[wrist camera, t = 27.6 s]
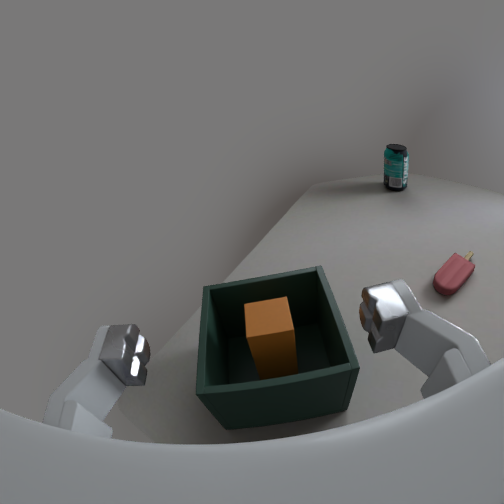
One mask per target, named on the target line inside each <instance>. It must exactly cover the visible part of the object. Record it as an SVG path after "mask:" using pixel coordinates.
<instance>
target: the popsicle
mask: <svg viewBox="0 0 504 504" xmlns="http://www.w3.org/2000/svg"><path fill="white" fill-rule="evenodd" d="M472 256H473V252H471V251H469V252H468V254H467V255H466V256H465V257H464V258H463V257H462V256H460V255H458V254H457V253H454V254H453V255H452V256H451V257H450V258H449V260H448V261H447V262H446V263H445V264H444V265H443V266H442V267H441V268H440V269H439V270H438V272H437V273H436V274H435V277H434V280H433V285H434V288H435V289H436V290H437V291H438V292H439V293H441V294H444V295H451V294H453V293H455V292H456V291H457V290H458V289H459V288H460V287H461V286H462V284H463V283H464V282H465V281H466V280H467V279H468V277H469V276H470V275H471V273H472V272H473V271H474V268H475V265H474V264H473V263H471V262H470V261H469V260H470V258H471V257H472Z"/></svg>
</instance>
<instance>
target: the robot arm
mask: <svg viewBox="0 0 504 504" xmlns="http://www.w3.org/2000/svg"><path fill="white" fill-rule="evenodd" d="M362 298H363V300H364V301H363V302H362V303H361V304H360V310H359V313H360V320H361V324H362V327H363V329H364V330H365V331H367V332H368V333H369V336H368V341H369V344H370V346H371V348H372V351H373V353H378V352H382V351H386V350H389V349H393V348H395V350H396V351H398V352H399V353H400V354H401V355H402V356H404V357H405V358H406V359H407V360H409V361H410V362H411V363H412V364H414V365H415V366H416V367H417V368H418V369H420V370H421V371H422V372H423V373H425V374H426V375H427V376H428V377H429V378H428V379H427V380H426V382H425V383H424V385H423V386H422V388H421V393H422V395H423V398H424V399H423V400H420V401H418V402H416V403H413V404H410V405H408V406H405V407H403V408H400V409H397V410H394V411H391V412H389V413H386V414H383V415H380V416H376V417H373V418H370V419H367V420H363V421H360V422H356V423H353V424H349V425H345V426H341V427H337V428H333V429H329V430H324V431H320V432H315V433H310V434H304V435H299V436H293V437H287V438H280V439H273V440H265V441H255V442H244V443H230V444H202V445H188V444H160V443H147V442H136V441H127V440H119V439H112V432H113V430H112V428H111V427H110V426H109V425H107V424H106V423H104V422H103V420H104V419H105V417H106V415H107V414H108V413H109V411H110V410H111V408H112V407H113V406H114V404H115V403H116V401H117V400H118V398H119V397H120V395H121V394H122V393H123V391H124V390H125V388H126V386H145V382H146V376H147V369H146V367H145V365H146V364H147V363H148V362H149V359H150V347H149V344H148V342H147V340H146V339H145V338H144V337H143V336H141V335H139V332H140V330H139V328H138V327H137V326H136V325H135V324H128V325H111V326H101V327H100V328H98V331H97V333H96V336H95V339H94V342H93V344H92V347H91V350H90V353H89V356H88V359H87V360H84V361H83V362H82V363H81V364H80V365H79V366H78V367H77V368H76V369H75V370H74V371H73V372H72V373H71V374H70V375H69V376H68V377H67V378H66V379H65V380H64V381H63V383H62V384H61V385H60V386H59V387H58V388H57V389H56V390H55V391H54V392H53V393H52V394H51V395H50V398H49V401H48V404H47V408H46V412H45V415H44V418H43V422H42V423H40V422H37V421H34V420H31V419H27V418H25V417H22V416H19V415H16V414H13V413H10V412H8V411H5V410H3V409H1V408H0V504H504V357H503V358H502V359H500V360H499V361H497V362H495V363H494V364H492V365H491V363H490V362H489V360H488V358H487V356H486V354H485V353H484V351H483V349H482V347H481V346H480V344H479V342H478V341H477V339H476V337H474V336H473V335H471V334H469V333H467V332H466V331H464V330H462V329H461V328H459V327H457V326H455V325H454V324H452V323H450V322H448V321H447V320H445V319H443V318H441V317H439V316H438V315H436V314H434V313H432V312H431V311H429V310H427V309H426V310H423V309H422V307H421V306H420V304H419V303H418V301H417V299H416V298H415V296H414V295H413V293H412V292H411V290H410V289H409V287H408V286H407V284H406V283H405V281H404V280H403V279H398V280H394V281H390V282H386V283H382V284H378V285H374V286H370V287H365V288H364V289H363V290H362Z"/></svg>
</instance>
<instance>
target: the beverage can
mask: <svg viewBox="0 0 504 504" xmlns="http://www.w3.org/2000/svg"><path fill="white" fill-rule="evenodd" d="M408 156H409V154H408V152H407V150H406V147H405V146H402V145H398V144H389V145H387V148H386V150H385V152H384V185H385V186H386V187H387V188H388V189H390V190H394V191H401V190H404V189H405V188H406V187H407V178H408Z"/></svg>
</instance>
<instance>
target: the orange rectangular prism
mask: <svg viewBox="0 0 504 504" xmlns="http://www.w3.org/2000/svg"><path fill="white" fill-rule="evenodd" d="M244 309H245V324H246V338H247V341H248V344H249V347H250V350H251V353H252V356H253V359H254V362H255V365H256V368H257V371H258V374H259V377H260V380H266V379H273V378H279V377H285V376H290V375H296V374H298V365H297V355H296V345H295V335H294V327H293V323H292V318H291V314H290V309H289V305H288V300H287V297H282V298H276V299H270V300H265V301H259V302H253V303H247V304H244Z"/></svg>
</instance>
